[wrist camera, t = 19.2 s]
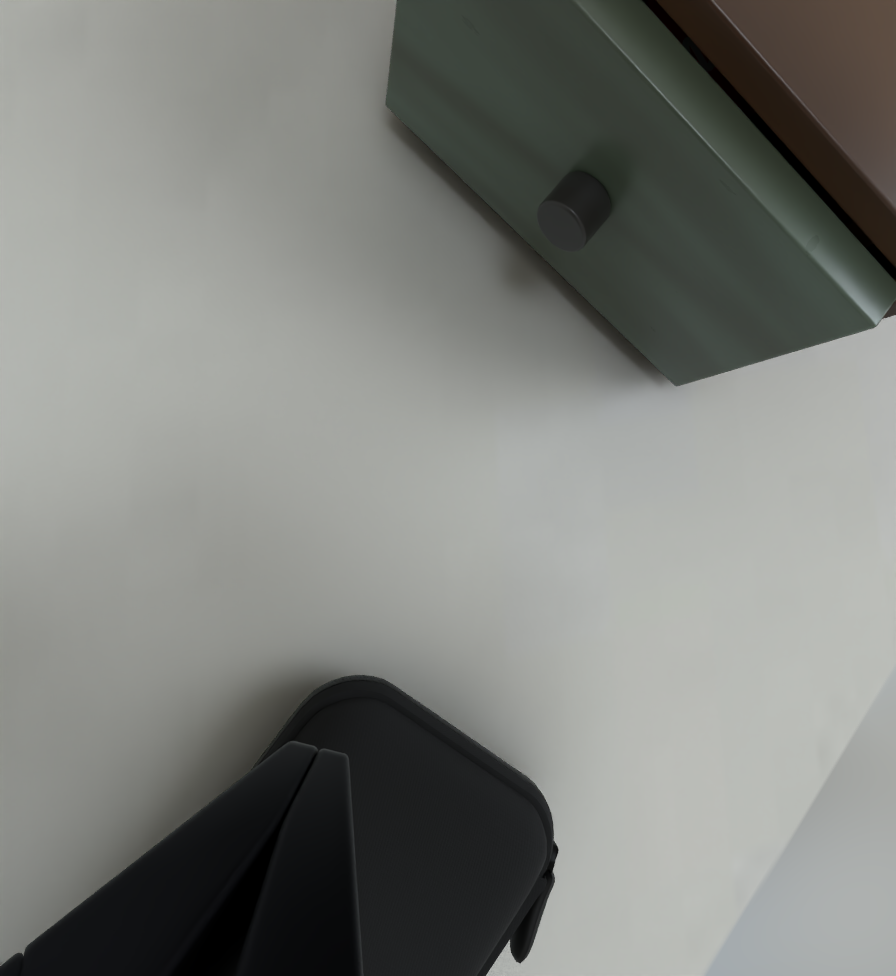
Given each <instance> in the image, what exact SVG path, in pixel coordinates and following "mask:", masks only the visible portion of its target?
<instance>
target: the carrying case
mask: <svg viewBox="0 0 896 976" xmlns="http://www.w3.org/2000/svg"><path fill="white" fill-rule="evenodd" d="M290 741H296V742H300V743H304V744H308V745H312V746H315V747H316V748H317V749H318V752H319V751H320V750H321V749H328V750H332V751H336V752H340V753H344V754H346V755H347V756H348V758H349V769H350V784H351V799H352V814H353V829H354V845H355V860H356V875H357V890H358V905H359V920H360V935H361V950H362V965H363V976H486V974H487V973H488V971H489V970H490V968H491V967H492V965H493V964H494V962H495V961H496V959H497V958H498V956H499V955H500V953H501V952H502V950H503V949H504V947H505V946H506V944H507V943H508V941H509V940H510V949H511V953H512V955H513V957H514V959H515V960H516V962H518V963H521V962H522V961H523V960H524V959H525V958H526V957H527V956H528V954H529V952H530V950H531V948H532V945H533V942H534V939H535V936H536V933H537V930H538V927H539V924H540V921H541V917H542V914H543V911H544V908H545V905H546V902H547V899H548V897H549V894H550V892H551V890H552V888H553V885H554V882H555V877H554V874H553V872H552V871H553V868H554V864H555V859H556V857H557V854H558V847H557V845H556V843H555V842H554V840H553V838H554V837H553V836H554V831H553V821H552V816H551V812H550V809H549V806H548V804H547V802H546V800H545V798H544V796H543V795H542V793H541V792H540V790H539V789H538V788H537V786H536V785H535V783H533V782H532V781H531V780H530V779H529V778H528V777H526V776H525V775H523V774H522V773H521V772H519V771H518V770H516V769H515V768H513V767H512V766H510V765H509V764H507V763H506V762H505V761H503V760H502V759H500V758H499V757H497V756H496V755H494V754H493V753H492V752H490V751H489V750H487V749H486V748H484V747H483V746H481V745H480V744H479V743H477V742H476V741H474V740H473V739H471V738H470V737H468V736H467V735H465V734H464V733H463V732H461V731H460V730H458V729H457V728H455V727H454V726H452V725H451V724H450V723H448V722H447V721H445V720H444V719H442V718H441V717H439V716H438V715H436V714H435V713H434V712H432V711H431V710H429V709H428V708H426V707H425V706H423V705H422V704H420V703H419V702H418V701H416V700H415V699H413V698H412V697H410V696H409V695H407V694H406V693H405V692H403V691H402V690H400V689H399V688H397V687H396V686H394V685H393V684H391V683H390V682H388V681H386V680H384V679H381V678H377V677H374V676H366V675H353V676H347V677H342V678H339V679H335V680H333V681H330V682H328V683H326V684H324V685H322V686H321V687H319V688H318V689H316V690H314V691H313V692H312V693H311V694H310V695H309V696H308V697H307V698H306V699H305V700H304V701H303V702H302V703H301V704H300V706H299V707H298V708H297V710H296V711H295V712H294V713H293V715H292V716H291V717H290V719H289V720H288V721H287V723H286V724H285V725H284V727H283V728H282V729H281V730H280V732H279V733H278V734H277V736H276V737H275V738H274V740H273V741H272V743H271V744H270V745H269V747H268V748H267V749H266V751H265V752H264V753H263V755H262V756H261V757H260V759H259V760H258V761H257V763H256V764H255V765H254V767H253V768H252V769H251V770H253V769H254V768H255V767H257V766H258V765H259V764H260V763H262V762H263V761H264V760H266V759H267V758H268V757H269V756H271V755H272V754H273V753H275V752H276V751H277V750H278V749H280V748H281V747H282V746H283V745H285V744H286V743H288V742H290Z"/></svg>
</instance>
